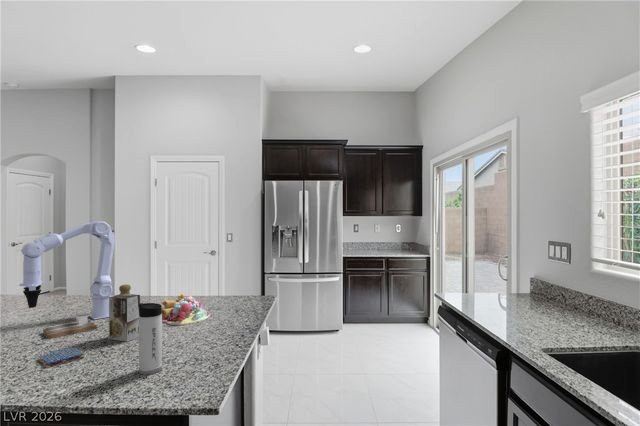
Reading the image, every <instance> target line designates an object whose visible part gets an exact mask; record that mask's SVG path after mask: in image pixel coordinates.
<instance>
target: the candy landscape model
mask: <svg viewBox="0 0 640 426" xmlns="http://www.w3.org/2000/svg"><path fill="white" fill-rule="evenodd" d="M161 305H163V307H162V323H166V324H167V325H170V326H171V325H172V326H186V325H191V324H196V323H199V322H202V320H203V321H205V320H207V318H208V317H209V318H210V316H211V314H210V311H207V310H205V308H204V306H203V305H202V301H200V298H199V299H198V300H197V298H196V297H193V296H192V295H190V296H187V297H186V296H185V294H183V293H180V294H178V297H177V299H175V300H173V299H171V300H170V299H167V300H166V299H165V300H164V301H162V303H161ZM209 318H208V319H209Z"/></svg>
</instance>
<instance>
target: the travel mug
mask: <svg viewBox="0 0 640 426" xmlns="http://www.w3.org/2000/svg"><path fill="white" fill-rule="evenodd" d="M138 307H139V337H138V373H139V374H141V375H152V374H156V373H159V372H160V371H161V370H162V368H163V322H162V308H163V307H162V304H160V303H154V302H145V303H143V302H140V304H139V305H138Z"/></svg>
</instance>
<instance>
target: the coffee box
mask: <svg viewBox="0 0 640 426" xmlns="http://www.w3.org/2000/svg"><path fill="white" fill-rule="evenodd" d="M111 296H112V297H109V317H108V318H109V321H108V322H109V323H108V324H109V325H108V326H109V327H108V329H109V330H108V331H109V333H108V334H109V335H108V336H109V338H108V339H109V340H114V341H119V342H130V341H132V340H135V339H139V307H138V305H139V304H140V303H141V295H140V294H135V293H134V294H133V293H130V294H120V293H119V294H115V295H111Z"/></svg>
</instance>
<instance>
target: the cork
mask: <svg viewBox="0 0 640 426" xmlns="http://www.w3.org/2000/svg"><path fill="white" fill-rule="evenodd" d="M131 288H132V287H131V285H130V284H122V285H119V288H118V290H119V294H131V293H130V292H131Z"/></svg>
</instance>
